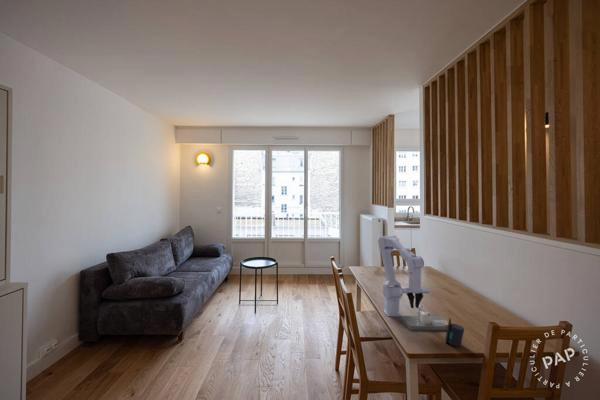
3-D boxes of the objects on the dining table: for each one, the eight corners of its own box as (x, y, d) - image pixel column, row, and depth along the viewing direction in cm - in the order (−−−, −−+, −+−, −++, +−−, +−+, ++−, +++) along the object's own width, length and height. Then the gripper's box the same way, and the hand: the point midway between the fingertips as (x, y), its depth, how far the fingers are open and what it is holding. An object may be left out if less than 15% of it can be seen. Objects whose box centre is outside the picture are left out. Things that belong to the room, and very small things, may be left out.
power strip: (400, 319, 163) (400, 314, 163) (440, 319, 164) (440, 314, 164) (410, 330, 150) (410, 324, 150) (453, 330, 151) (453, 325, 151)
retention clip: (417, 315, 163) (417, 305, 163) (421, 315, 163) (421, 305, 163) (427, 324, 152) (427, 313, 152) (431, 324, 152) (431, 313, 152)
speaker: (441, 342, 138) (444, 320, 137) (445, 338, 142) (448, 317, 141) (458, 350, 133) (462, 327, 132) (463, 346, 137) (466, 323, 136)
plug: (419, 323, 158) (419, 311, 158) (427, 323, 158) (427, 311, 158) (422, 327, 154) (423, 314, 154) (430, 327, 154) (430, 314, 154)
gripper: (403, 283, 149) (403, 310, 149) (432, 283, 149) (432, 310, 149) (398, 279, 156) (398, 305, 156) (426, 279, 156) (425, 305, 156)
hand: (414, 307), depth 153 cm, fingers closed
